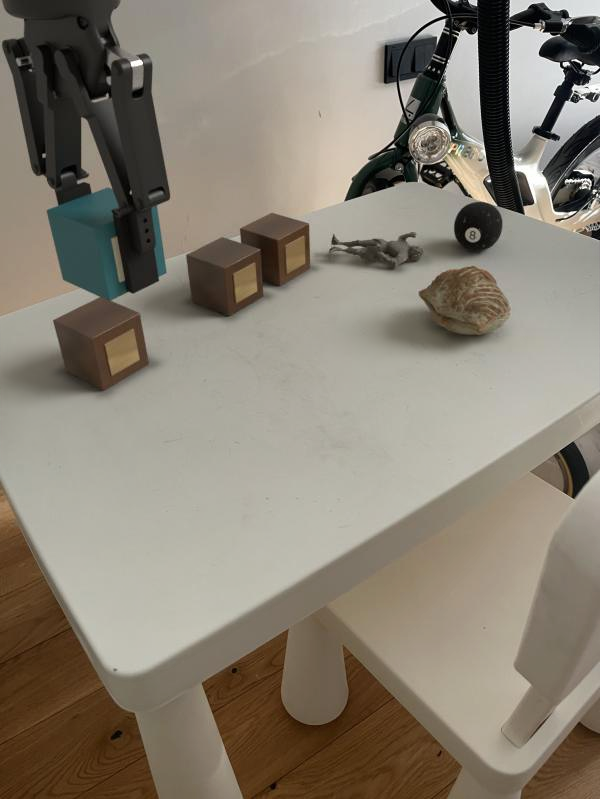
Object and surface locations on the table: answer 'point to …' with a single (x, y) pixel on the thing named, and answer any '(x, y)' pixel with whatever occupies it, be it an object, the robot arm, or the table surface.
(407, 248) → the figurine
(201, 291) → the walnut block
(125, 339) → the walnut block
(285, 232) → the walnut block
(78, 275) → the teal block
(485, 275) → the seashell
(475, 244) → the billiard ball
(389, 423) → the table surface
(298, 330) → the table surface
